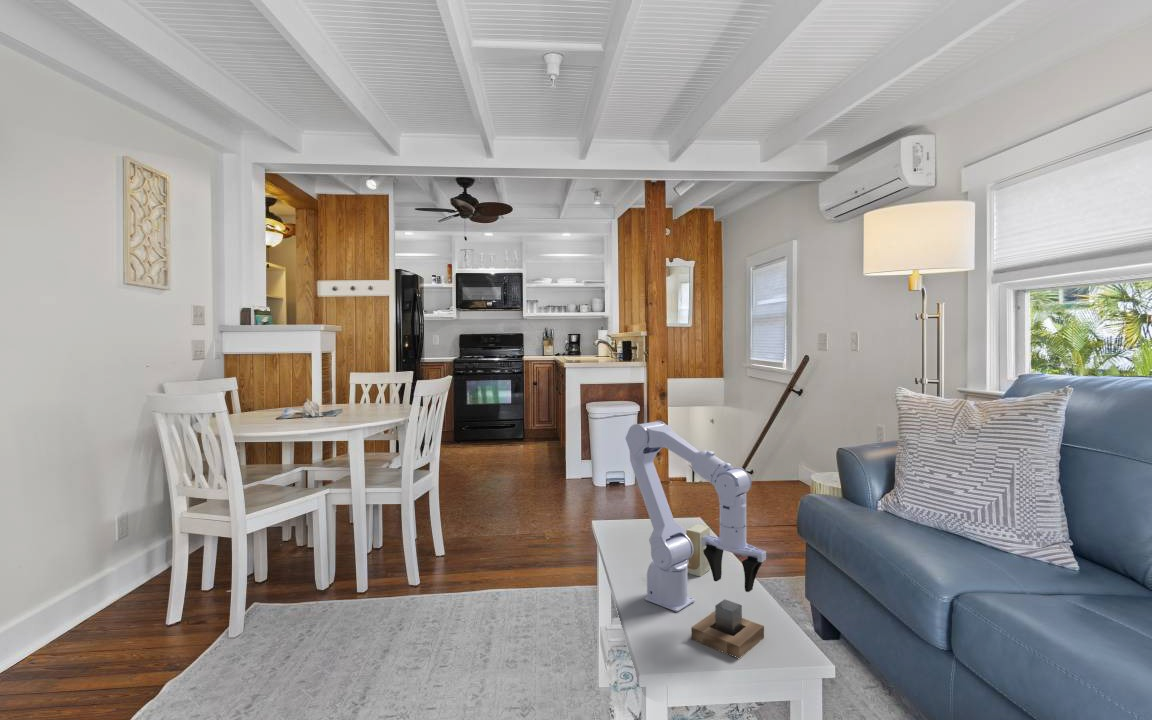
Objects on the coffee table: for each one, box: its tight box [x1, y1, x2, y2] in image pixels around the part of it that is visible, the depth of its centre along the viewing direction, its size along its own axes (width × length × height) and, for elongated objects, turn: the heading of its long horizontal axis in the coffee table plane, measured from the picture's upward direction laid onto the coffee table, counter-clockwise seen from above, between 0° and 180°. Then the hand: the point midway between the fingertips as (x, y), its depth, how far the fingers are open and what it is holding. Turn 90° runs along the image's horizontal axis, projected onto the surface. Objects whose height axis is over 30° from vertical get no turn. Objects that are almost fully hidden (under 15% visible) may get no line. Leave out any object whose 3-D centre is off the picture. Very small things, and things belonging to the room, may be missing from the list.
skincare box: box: [685, 523, 711, 577], centre depth 151 cm, size 6×4×12 cm
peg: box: [714, 598, 743, 636], centre depth 116 cm, size 4×4×7 cm
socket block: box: [690, 610, 765, 659], centre depth 116 cm, size 11×11×2 cm
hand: (732, 585), depth 121 cm, fingers open, 7 cm apart
